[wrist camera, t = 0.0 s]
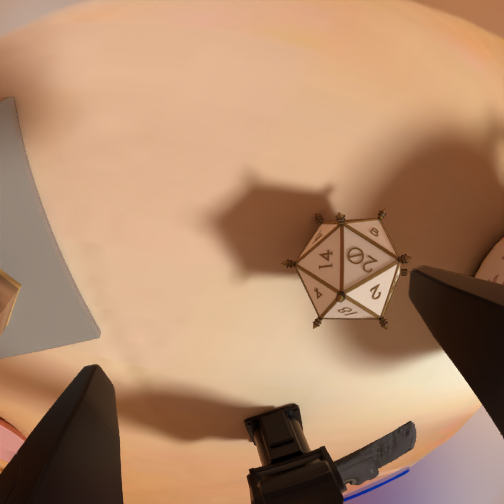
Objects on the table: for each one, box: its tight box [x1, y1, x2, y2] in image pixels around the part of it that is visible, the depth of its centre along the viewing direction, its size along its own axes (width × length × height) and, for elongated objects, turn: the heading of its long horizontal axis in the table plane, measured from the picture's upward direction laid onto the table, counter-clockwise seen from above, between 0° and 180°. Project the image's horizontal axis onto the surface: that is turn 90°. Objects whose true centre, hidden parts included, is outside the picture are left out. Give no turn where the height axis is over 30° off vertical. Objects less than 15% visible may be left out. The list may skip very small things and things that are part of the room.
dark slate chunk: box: [334, 421, 416, 493], centre depth 45 cm, size 15×22×5 cm
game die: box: [282, 209, 411, 329], centre depth 21 cm, size 9×8×10 cm
